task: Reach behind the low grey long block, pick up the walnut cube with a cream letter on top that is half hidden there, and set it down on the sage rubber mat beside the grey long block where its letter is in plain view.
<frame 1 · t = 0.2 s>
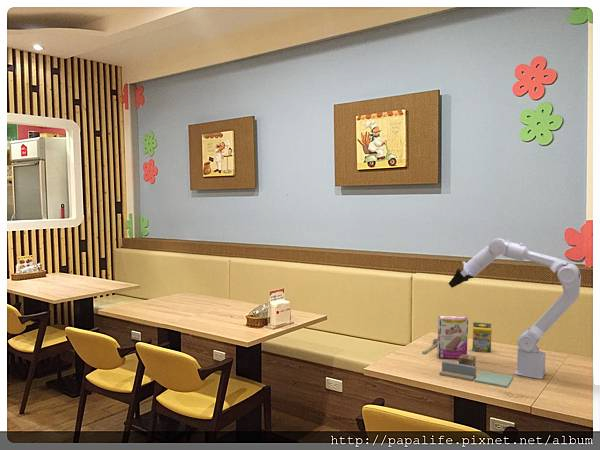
hand: (453, 284, 210), 31 cm above the table, tool tilted 45°, fingers open, 7 cm apart
lettered cube: (466, 369, 202), on the table
soupspoon: (434, 349, 230), on the table
crayon box: (481, 351, 225), on the table
candy bar box: (452, 357, 217), on the table
grey long block: (458, 375, 196), on the table
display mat: (494, 379, 192), on the table
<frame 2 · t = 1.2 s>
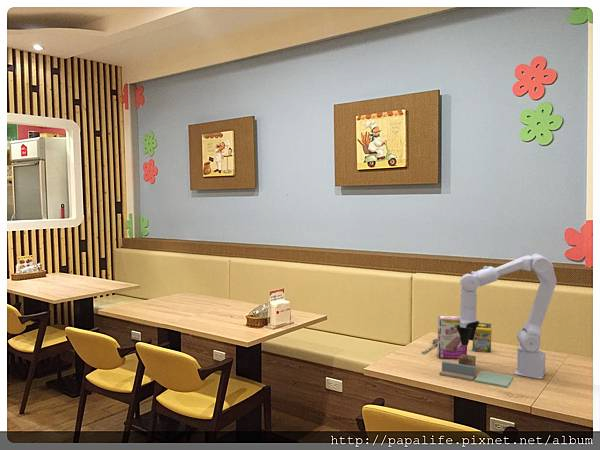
hand: (467, 342, 201), 10 cm above the table, tool pointing down, fingers open, 7 cm apart
nothing on the table moved.
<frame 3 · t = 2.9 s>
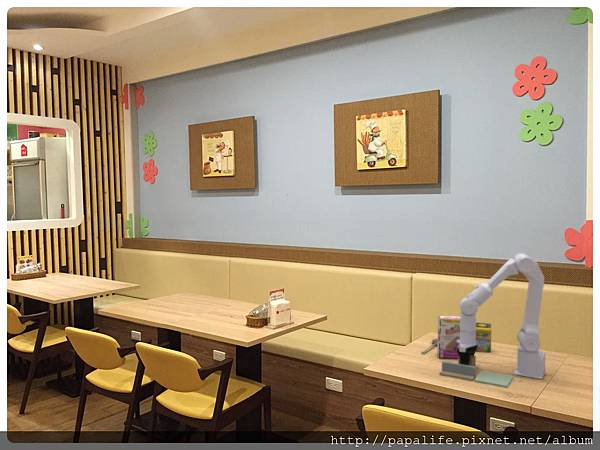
hand: (467, 365, 202), 1 cm above the table, tool pointing down, fingers closed on lettered cube, 5 cm apart
lettered cube: (466, 369, 202), on the table, touching gripper
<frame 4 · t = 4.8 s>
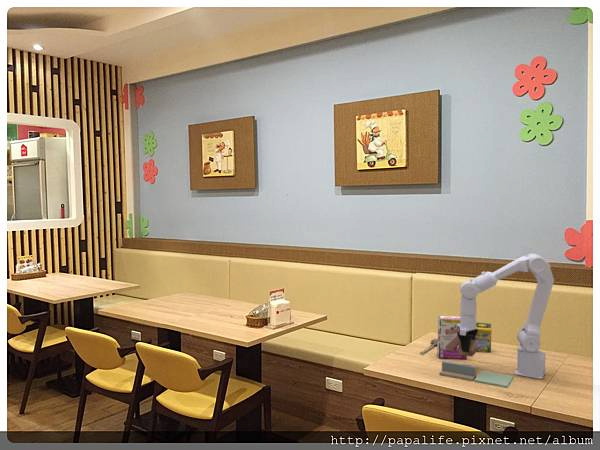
hand: (467, 349, 202), 8 cm above the table, tool pointing down, fingers closed on lettered cube, 5 cm apart
lettered cube: (467, 353, 202), point 6 cm above the table, touching gripper
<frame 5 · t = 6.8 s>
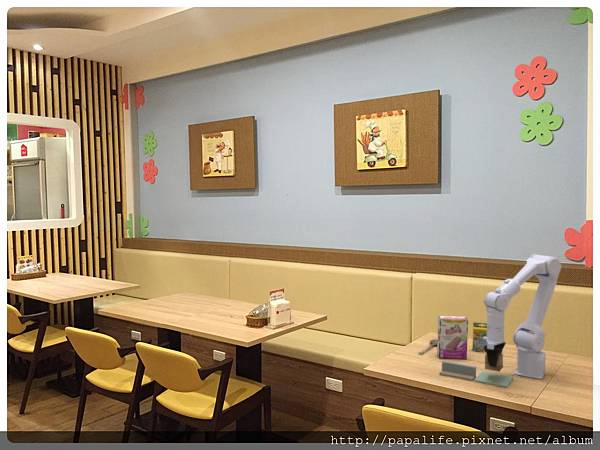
hand: (494, 364, 191), 6 cm above the table, tool pointing down, fingers closed on lettered cube, 5 cm apart
lettered cube: (493, 368, 191), point 4 cm above the table, touching gripper
when the fingers open (3 cm above the table, at t = 8.3 s): lettered cube stays where it is, resting on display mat.
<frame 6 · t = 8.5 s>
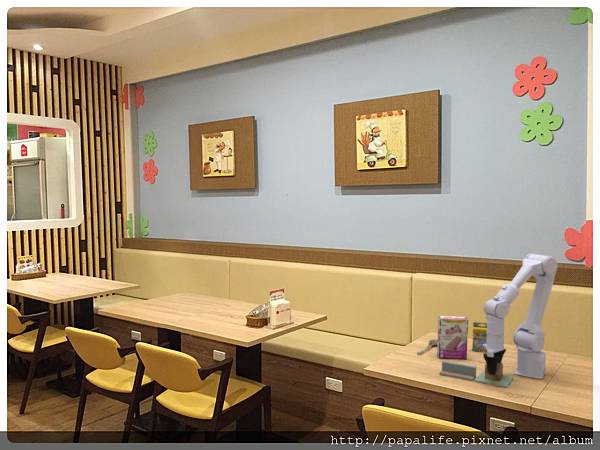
hand: (494, 371, 192), 3 cm above the table, tool pointing down, fingers open, 6 cm apart
lettered cube: (493, 377, 192), point 1 cm above the table, touching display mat
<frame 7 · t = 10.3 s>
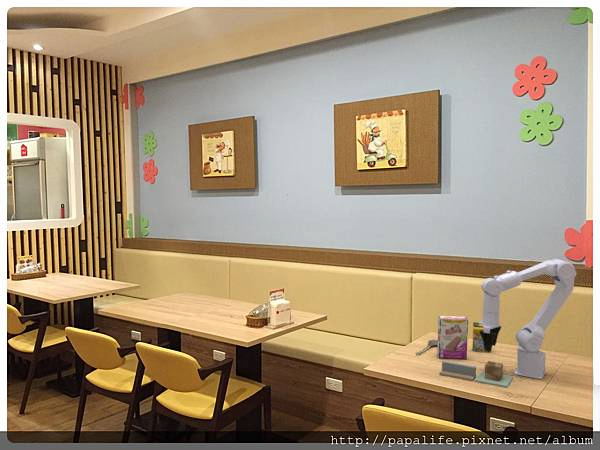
hand: (490, 347, 198), 9 cm above the table, tool pointing down, fingers open, 7 cm apart
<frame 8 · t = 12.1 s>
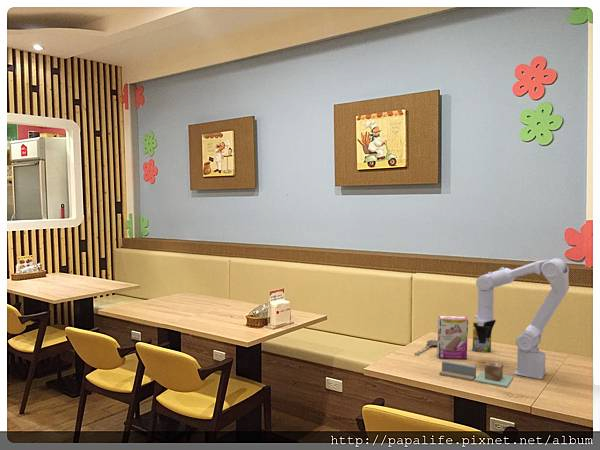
hand: (484, 340, 207), 9 cm above the table, tool pointing down, fingers open, 7 cm apart
at the end: lettered cube inside the target area on the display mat (0.1 cm from its centre), point 0.6 cm above the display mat's base; lettered cube tilted 0°; the gripper is holding nothing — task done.
